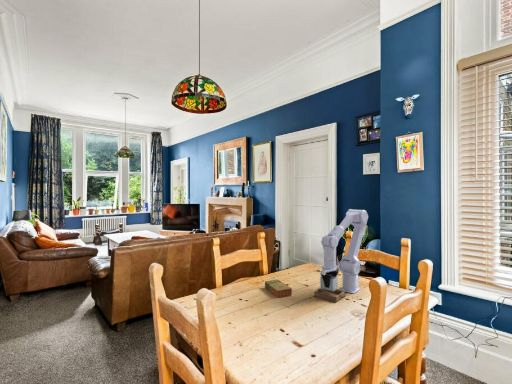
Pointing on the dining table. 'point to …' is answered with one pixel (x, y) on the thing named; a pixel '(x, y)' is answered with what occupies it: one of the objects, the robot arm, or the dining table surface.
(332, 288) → the small crate
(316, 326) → the dining table surface
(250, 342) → the dining table surface
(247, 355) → the dining table surface
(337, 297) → the big crate
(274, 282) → the carton
